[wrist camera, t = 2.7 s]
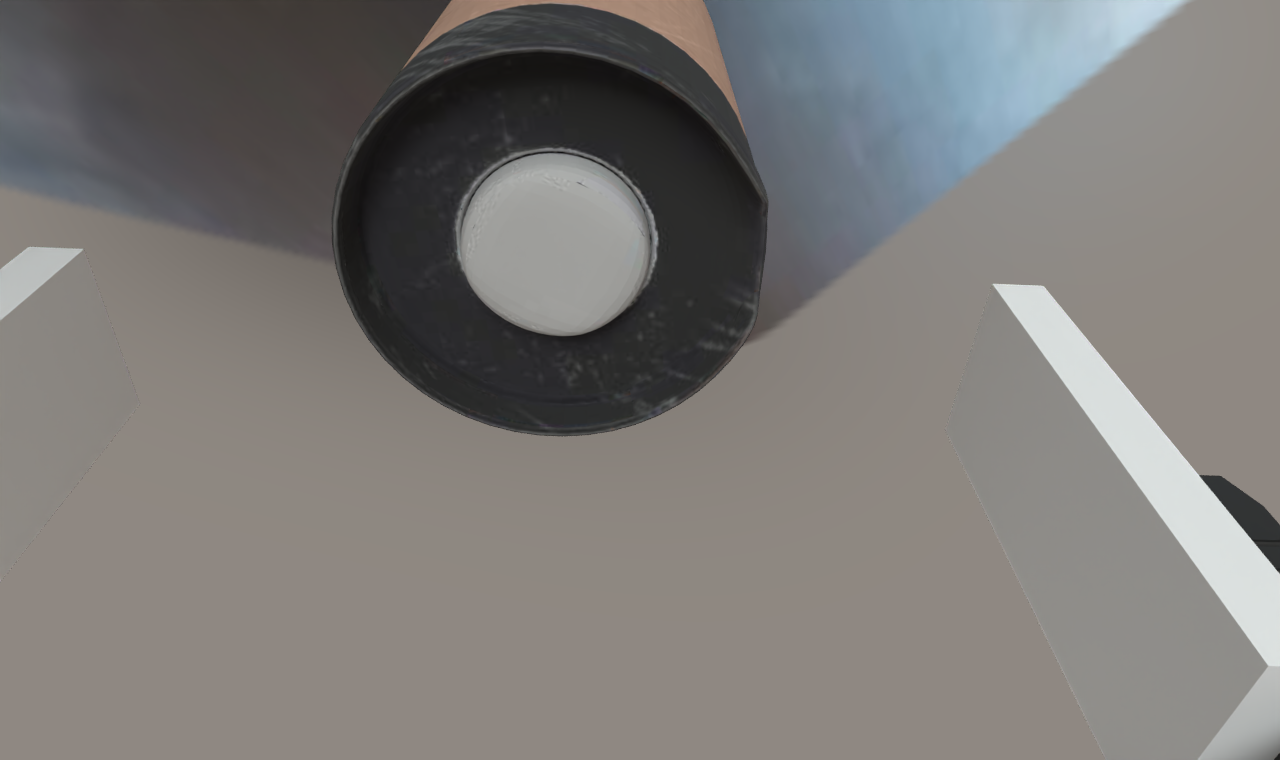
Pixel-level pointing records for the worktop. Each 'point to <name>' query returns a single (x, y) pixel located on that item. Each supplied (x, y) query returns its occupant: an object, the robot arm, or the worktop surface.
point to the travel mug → (555, 214)
